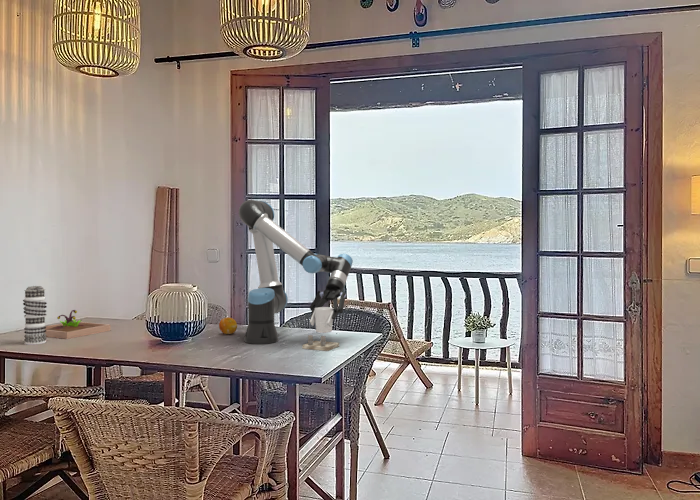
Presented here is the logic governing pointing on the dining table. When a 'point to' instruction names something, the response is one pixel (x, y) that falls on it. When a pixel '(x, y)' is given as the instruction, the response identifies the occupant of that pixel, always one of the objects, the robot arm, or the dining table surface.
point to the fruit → (228, 325)
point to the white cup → (322, 319)
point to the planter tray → (66, 335)
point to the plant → (69, 324)
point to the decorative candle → (34, 315)
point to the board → (319, 344)
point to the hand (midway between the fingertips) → (320, 324)
